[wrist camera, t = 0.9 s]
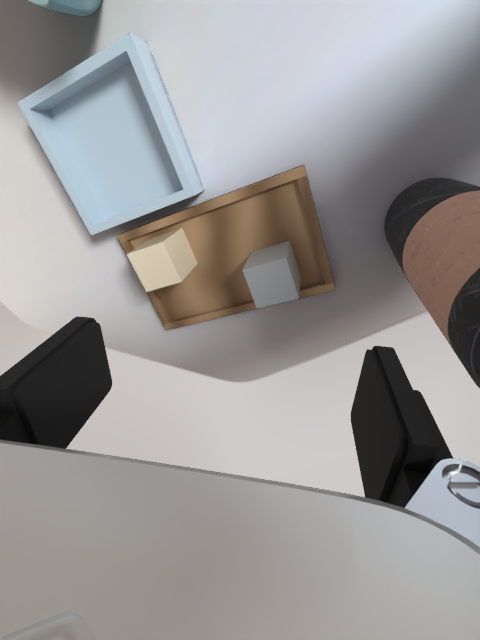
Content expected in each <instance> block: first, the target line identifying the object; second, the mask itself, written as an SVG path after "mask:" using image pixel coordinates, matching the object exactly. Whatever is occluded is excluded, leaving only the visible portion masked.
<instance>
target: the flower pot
mask: <svg viewBox="0 0 480 640" xmlns="http://www.w3.org/2000/svg"><path fill="white" fill-rule="evenodd" d="M27 1H28V2H31V3H33V4H35V5H37V6H39V7H42V8H46V9H50V10H54V11H58V12H63V13H67V14H71V15H77V16H88V15H91V14H93V13H94V12H95V11H96V10H97V9H98V7H99V5H100V3H101V1H102V0H27Z"/></svg>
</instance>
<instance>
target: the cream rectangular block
mask: <svg viewBox="0 0 480 640" xmlns="http://www.w3.org/2000/svg"><path fill="white" fill-rule="evenodd" d="M127 256H128V258H129V260H130V262H131V264H132V266H133V268H134V269H135V271H136V273H137V275H138V277H139V279H140V281H141V283H142V285H143V287H144V289H145V290H146V292H149V291H152V290H156V289H159V288H163V287H166V286H169V285H173V284H176V283H180V282H182V281H183V280H184V279H185V277H186V276H187V275H188V274H189V273H190V272H191V271H192V269H193V268H194V267H195V266H196V265H197V264H198V263H197V261H196V259H195V256H194V254H193V252H192V249H191V247H190V245H189V242H188V240H187V238H186V235H185V233H184V231H183V229H182V228H179V229H177V230H174V231H171V232H168V233H165V234H162V235H160V236H157V237H154V238H151V239H149V240H147V241H146V242H144V243H143V244H141V245H140V246H138V247H137V248H135V249H134V250H132V251H131V252H129V253H128V254H127Z"/></svg>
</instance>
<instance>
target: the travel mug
mask: <svg viewBox="0 0 480 640" xmlns="http://www.w3.org/2000/svg"><path fill="white" fill-rule="evenodd" d="M385 234H386V238H387V241H388V243H389V245H390V247H391V249H392V251H393V253H394V255H395V257H396V259H397V261H398V263H399V265H400V267H401V268H402V270H403V272H404V274H405V276H406V278H407V280H408V281H409V283H410V284H411V286H412V287H413V289H414V291H415V292H416V294H417V295H418V297H419V298H420V300H421V301H422V303H423V304H424V306H425V307H426V309H427V310H428V312H429V313H430V315H431V317H432V318H433V320H434V321H435V323H436V324H437V326H438V327H439V329H440V330H441V332H442V333H443V335H444V336H445V338H446V339H447V341H448V342H449V344H450V346H451V347H452V348H453V350H454V352H455V353H456V355H457V356H458V358H459V359H460V361H461V362H462V364H463V365H464V367H465V368H466V370H467V371H468V373H469V375H470V376H471V378H472V379H473V381H474V382H475V383H476V385H477V386H478V387H479V388H480V187H479V186H476V185H472V184H468V183H464V182H460V181H456V180H452V179H447V178H431V179H426V180H423V181H420V182H417V183H415V184H413V185H411V186H410V187H408V188H407V189H405V190H404V191H403V192H402V193H401V194H400V195H399V196H398V197H397V198H396V199H395V200H394V202H393V203H392V205H391V206H390V208H389V210H388V213H387V216H386V220H385Z"/></svg>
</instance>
